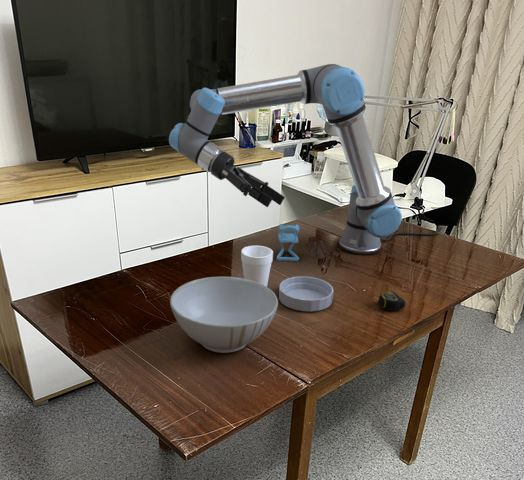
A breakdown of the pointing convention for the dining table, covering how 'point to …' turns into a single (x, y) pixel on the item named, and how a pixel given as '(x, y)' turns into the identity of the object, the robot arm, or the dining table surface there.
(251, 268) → the foam cup
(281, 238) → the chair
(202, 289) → the decorative bowl
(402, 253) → the dining table surface
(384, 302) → the tape measure
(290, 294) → the white plant saucer
